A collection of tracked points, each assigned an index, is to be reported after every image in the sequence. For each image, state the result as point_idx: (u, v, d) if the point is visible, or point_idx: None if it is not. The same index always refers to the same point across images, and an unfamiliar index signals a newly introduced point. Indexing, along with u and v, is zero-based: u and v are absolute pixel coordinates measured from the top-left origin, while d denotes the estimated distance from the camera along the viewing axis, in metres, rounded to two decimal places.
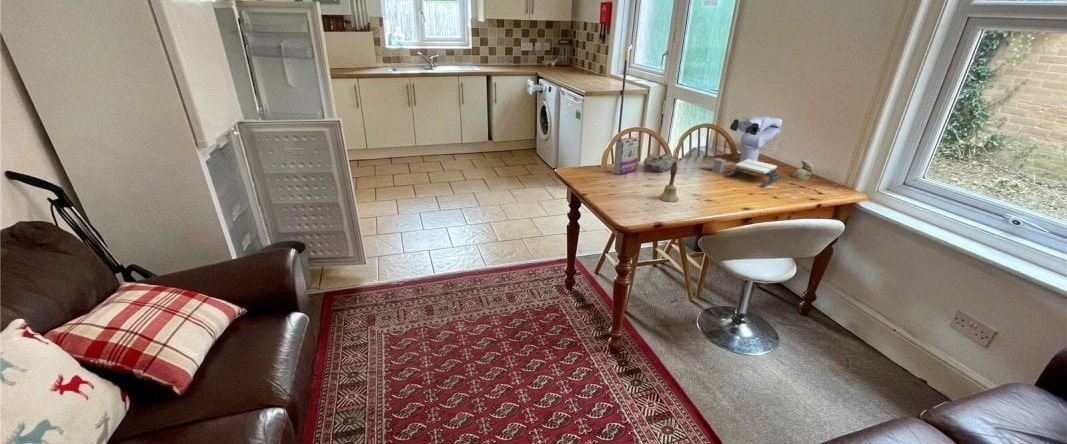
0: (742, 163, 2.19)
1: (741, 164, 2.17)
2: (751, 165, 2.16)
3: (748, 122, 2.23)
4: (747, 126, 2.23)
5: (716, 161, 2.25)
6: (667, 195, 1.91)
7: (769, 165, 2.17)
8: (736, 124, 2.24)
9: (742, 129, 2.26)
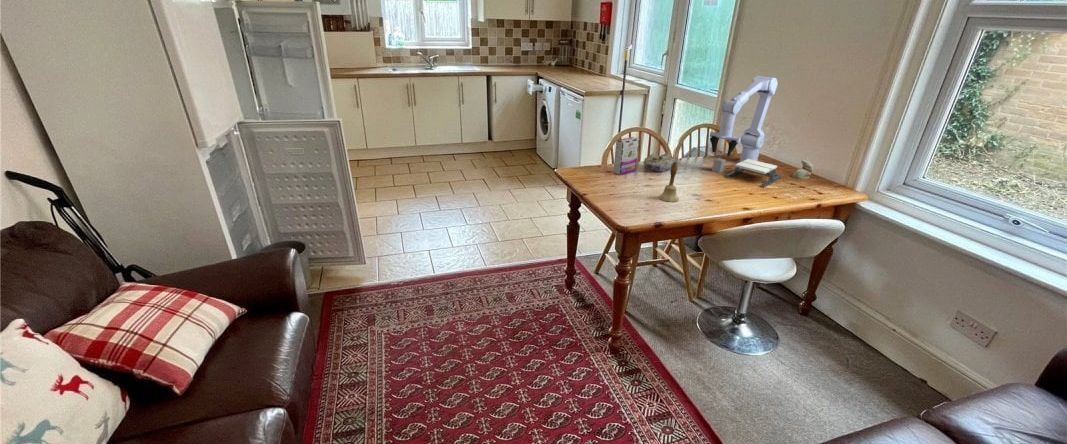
0: (742, 163, 2.19)
1: (741, 164, 2.17)
2: (751, 165, 2.16)
3: None
4: (725, 138, 2.20)
5: (716, 161, 2.25)
6: (667, 195, 1.91)
7: (769, 165, 2.17)
8: (715, 142, 2.24)
9: None
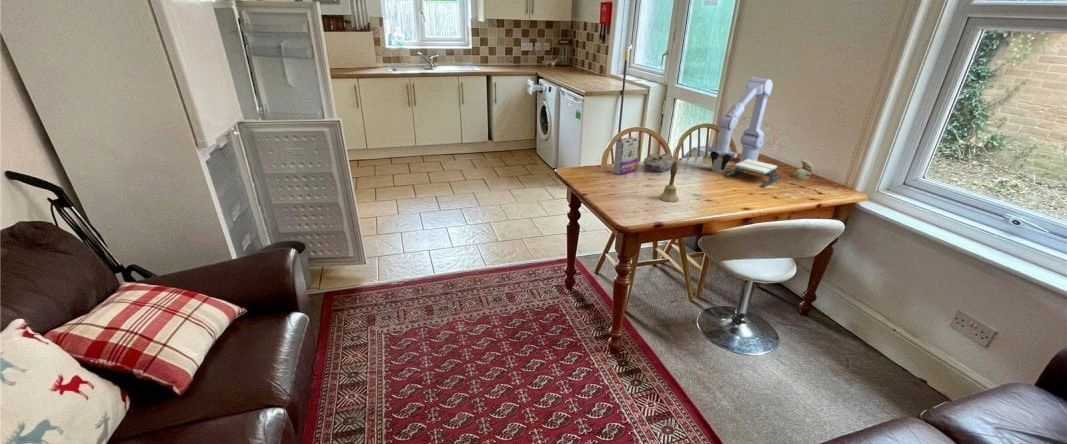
0: (742, 163, 2.19)
1: (741, 164, 2.17)
2: (751, 165, 2.16)
3: None
4: (722, 153, 2.23)
5: (716, 161, 2.25)
6: (667, 195, 1.91)
7: (769, 165, 2.17)
8: (715, 157, 2.26)
9: None
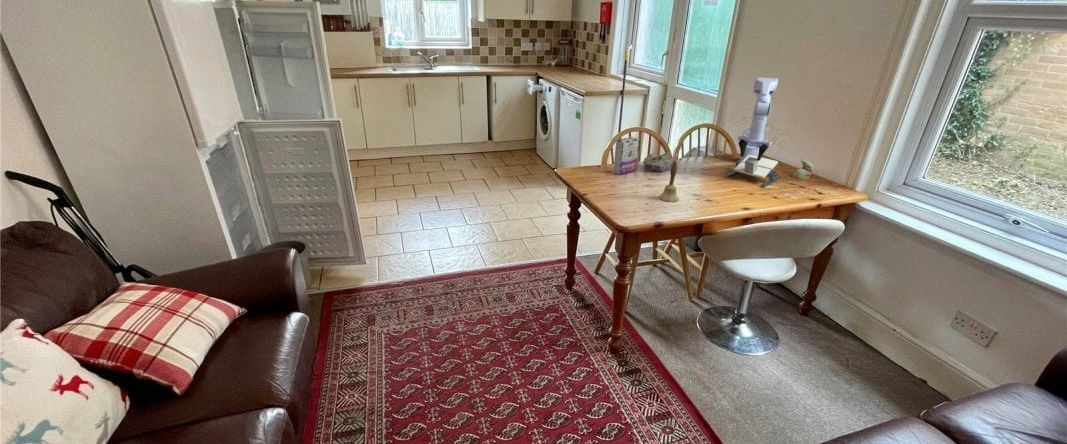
0: (742, 165, 2.19)
1: (740, 167, 2.18)
2: None
3: None
4: (755, 142, 2.10)
5: (747, 163, 2.11)
6: (667, 195, 1.91)
7: (769, 162, 2.16)
8: (744, 146, 2.13)
9: None
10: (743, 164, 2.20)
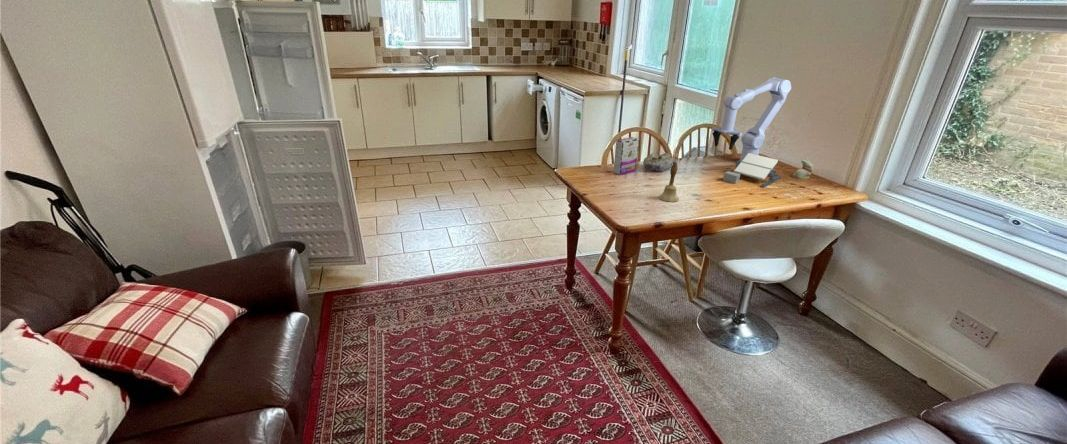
0: (741, 166, 2.20)
1: (740, 168, 2.19)
2: (751, 167, 2.17)
3: None
4: (727, 133, 2.29)
5: None
6: (667, 195, 1.91)
7: (769, 161, 2.16)
8: (717, 136, 2.32)
9: None
10: (743, 164, 2.20)
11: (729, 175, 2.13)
